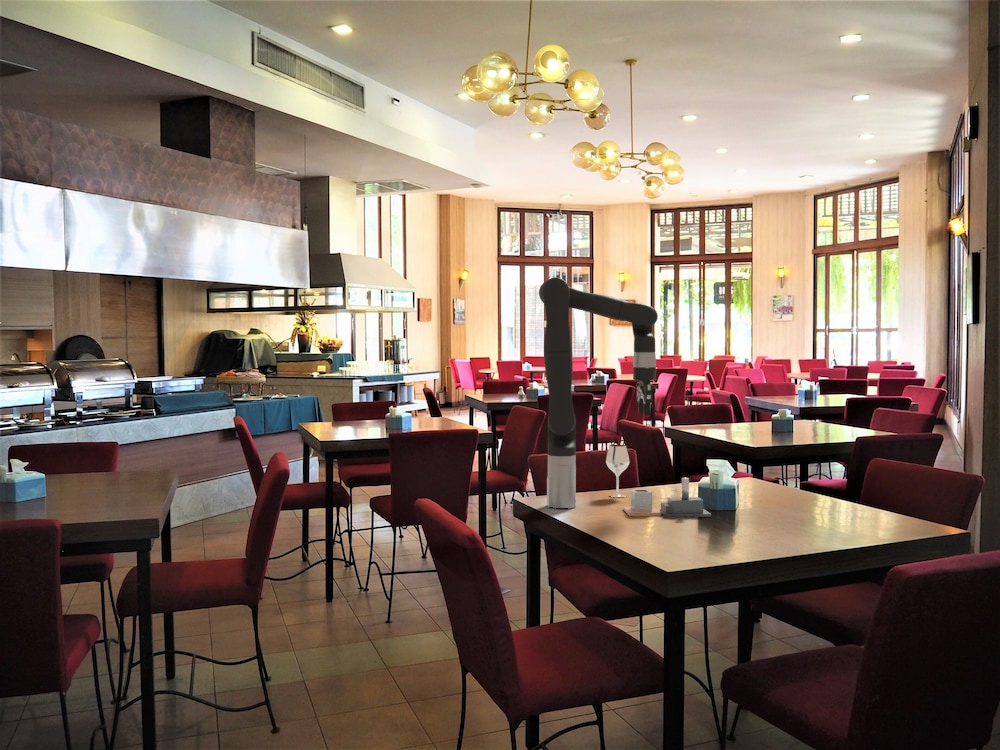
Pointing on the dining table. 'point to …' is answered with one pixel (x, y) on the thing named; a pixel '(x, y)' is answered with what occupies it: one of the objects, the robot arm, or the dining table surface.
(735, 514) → the dining table surface
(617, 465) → the wineglass
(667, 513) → the grey peg stand
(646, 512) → the terracotta tile
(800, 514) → the dining table surface
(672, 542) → the dining table surface
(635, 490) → the white cube
